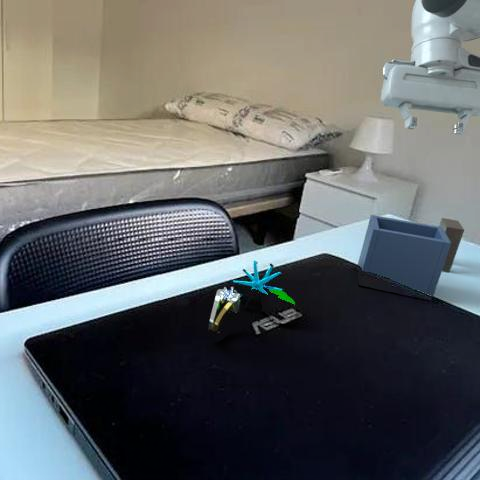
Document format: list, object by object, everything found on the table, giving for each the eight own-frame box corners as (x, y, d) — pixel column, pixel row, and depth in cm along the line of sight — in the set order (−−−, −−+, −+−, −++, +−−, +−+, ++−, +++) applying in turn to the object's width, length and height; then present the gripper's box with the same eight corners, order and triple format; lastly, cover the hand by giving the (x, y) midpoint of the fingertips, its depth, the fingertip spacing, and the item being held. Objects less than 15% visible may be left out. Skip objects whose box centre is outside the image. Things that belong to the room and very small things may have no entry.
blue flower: (221, 284, 80) (256, 249, 79) (239, 294, 86) (271, 261, 84) (271, 338, 73) (309, 301, 72) (286, 345, 78) (322, 310, 77)
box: (424, 282, 92) (442, 227, 88) (431, 301, 85) (451, 243, 81) (356, 268, 96) (370, 214, 91) (357, 286, 89) (373, 229, 84)
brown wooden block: (444, 261, 102) (458, 220, 99) (449, 272, 97) (464, 229, 94) (428, 258, 103) (441, 217, 99) (432, 269, 98) (446, 226, 95)
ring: (217, 355, 66) (225, 303, 63) (197, 345, 68) (204, 294, 65) (243, 334, 71) (252, 285, 68) (224, 325, 73) (232, 277, 70)
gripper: (391, 49, 95) (389, 117, 93) (496, 61, 95) (497, 129, 93) (376, 66, 101) (374, 130, 99) (474, 78, 102) (475, 142, 99)
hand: (434, 130), depth 96 cm, fingers open, 8 cm apart
